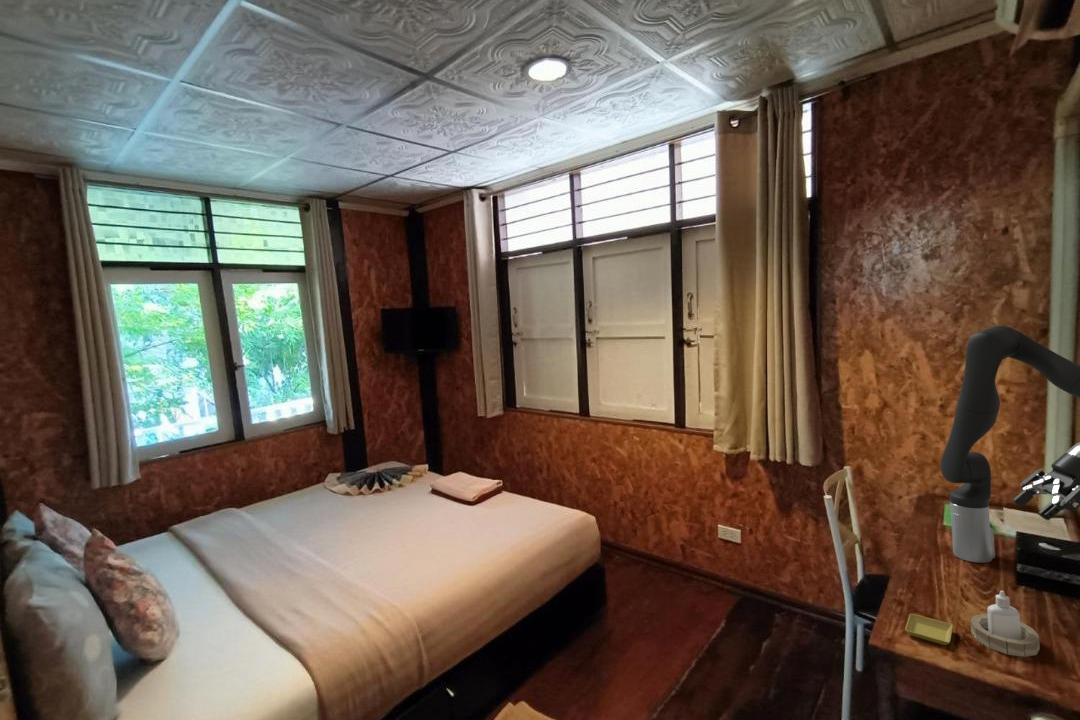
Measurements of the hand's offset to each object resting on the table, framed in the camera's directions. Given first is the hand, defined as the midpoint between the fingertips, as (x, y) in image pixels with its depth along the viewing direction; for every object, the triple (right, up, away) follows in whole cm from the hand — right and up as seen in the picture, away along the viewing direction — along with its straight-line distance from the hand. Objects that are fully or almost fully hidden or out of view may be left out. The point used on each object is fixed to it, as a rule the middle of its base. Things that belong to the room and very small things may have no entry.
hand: (1029, 510), depth 118 cm
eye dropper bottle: (-9, -30, -3) cm, 32 cm away
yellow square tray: (-23, -32, +2) cm, 39 cm away
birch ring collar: (-9, -30, -3) cm, 32 cm away
